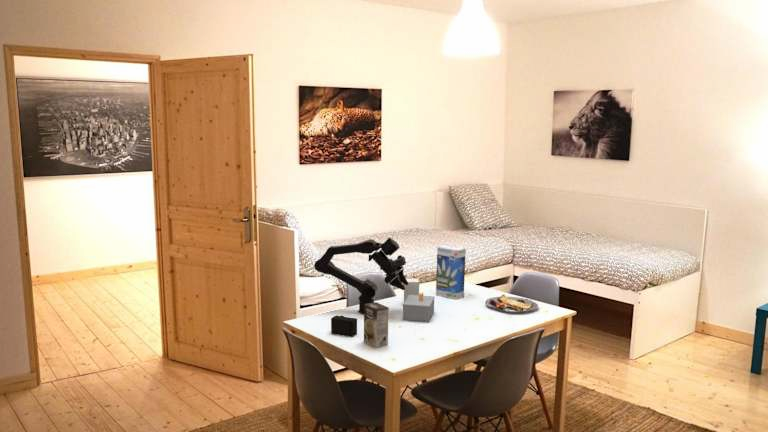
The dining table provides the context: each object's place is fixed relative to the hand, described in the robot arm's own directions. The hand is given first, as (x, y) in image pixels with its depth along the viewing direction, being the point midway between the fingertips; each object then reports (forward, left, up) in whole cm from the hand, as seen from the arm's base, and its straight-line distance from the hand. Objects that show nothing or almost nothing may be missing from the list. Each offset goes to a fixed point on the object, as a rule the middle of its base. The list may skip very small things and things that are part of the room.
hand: (406, 287), depth 300 cm
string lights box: (+40, +12, -14) cm, 44 cm away
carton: (+4, -5, -13) cm, 15 cm away
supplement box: (+13, +11, -14) cm, 22 cm away
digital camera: (-38, -5, -14) cm, 40 cm away
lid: (+4, -5, -6) cm, 9 cm away
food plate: (+51, -20, -14) cm, 56 cm away
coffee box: (-34, -23, -14) cm, 44 cm away
